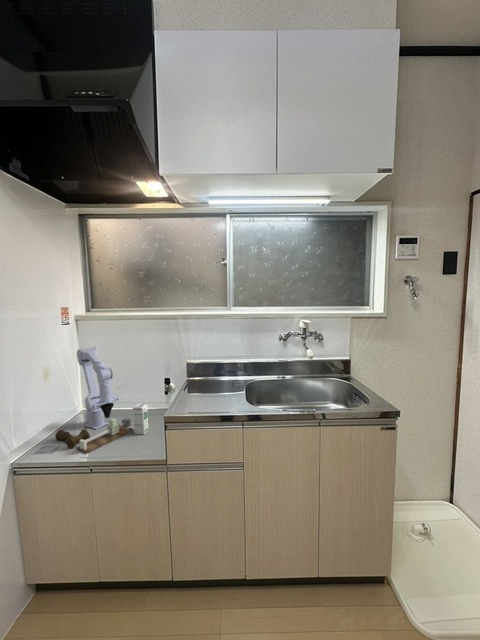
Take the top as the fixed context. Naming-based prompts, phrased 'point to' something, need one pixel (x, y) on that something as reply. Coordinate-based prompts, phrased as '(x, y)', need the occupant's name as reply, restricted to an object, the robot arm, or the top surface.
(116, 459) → the top surface
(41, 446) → the top surface
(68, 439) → the kendama
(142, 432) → the syrup box
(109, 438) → the board
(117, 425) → the sleeve
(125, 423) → the linear slide rail
